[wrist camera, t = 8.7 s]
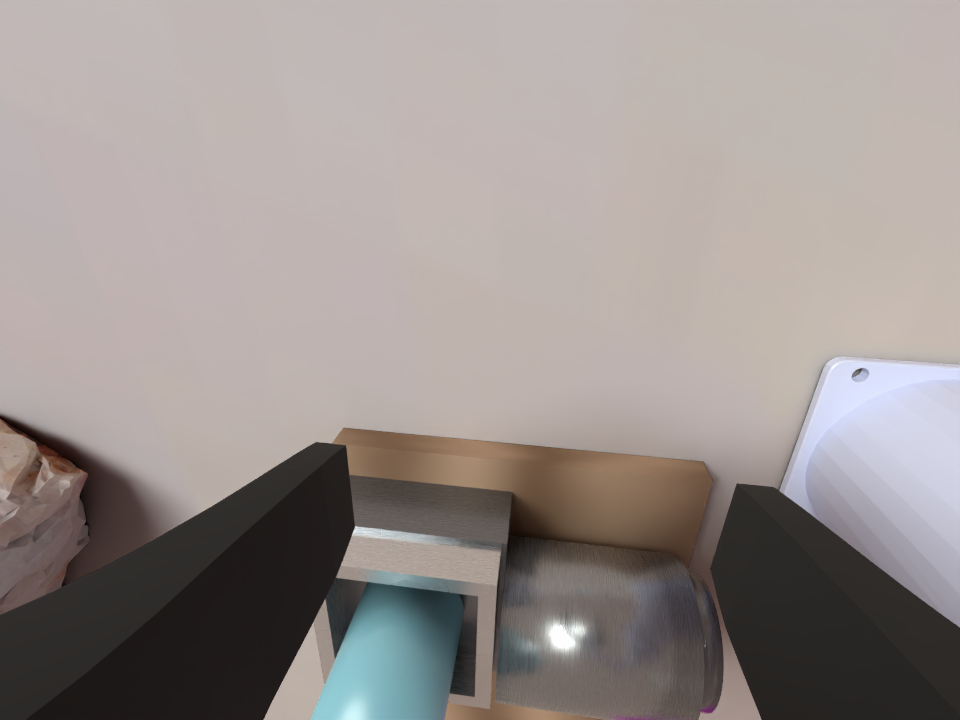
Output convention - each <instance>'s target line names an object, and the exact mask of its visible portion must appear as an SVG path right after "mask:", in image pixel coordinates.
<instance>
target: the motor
mask: <svg viewBox="0 0 960 720" xmlns="http://www.w3.org/2000/svg"><path fill="white" fill-rule="evenodd" d="M349 476H350V485H351V494H352V503H353V512H354V522H355V528H354V531H353V534H352V537H351V539H350V542H349V545H348V548H347V551H346V553H345V556H344V558H343V561H342V564H341V566H340V569H339V571H338V574H337V576H336V578H335V580H334V582H333V584H332V586H331V588H330V590H329V592H328V594H327V596H326V598H325V600H324V602H323V604H322V606H321V608H320V610H319V612H318V614H317V616H316V618H315V620H314V627H315V632H316V638H317V644H318V649H319V655H320V661H321V667H322V672H323V678H324V684H325V683H326V681H327V678H328V676H329V674H330V671H331V669H332V666H333V664H334V661H335V659H336V657H337V654H338V652H339V649H340V647H341V645H342V642H343V640H344V637H345V635H346V632H347V630H348V628H349V625H350V623H351V620H352V618H353V616H354V613H355V611H356V608H357V606H358V603H359V601H360V599H361V596H362V594H363V591H364V589H365V587H366V584H367V582H372V583H380V584H387V585H395V586H403V587H411V588H418V589H426V590H434V591H441V592H449V593H457V594H459V595H460V597H461V599H462V602H463V605H464V616H463V621H462V627H461V632H460V638H459V643H458V649H457V654H456V660H455V665H454V671H453V677H452V682H451V688H450V693H449V699H448V703H452V704H459V705H465V706H472V707H478V708H485V709H490V703H491V693H492V683H493V673H494V671H497V674H496V689H495V703H500V704H506V705H513V706H519V707H526V708H532V709H539V710H545V711H552V712H558V713H565V714H571V715H578V716H584V717H591V718H597V719H604V720H698V718H699V715H700V712H702V713H711V712H713V711H714V710H715V708H716V707H717V705H718V703H719V699H720V696H721V691H722V683H723V647H722V638H721V631H720V625H719V620H718V616H717V611H716V608H715V604H714V601H713V598H712V596H711V593H710V591H709V589H708V587H707V585H706V583H705V582H704V580H703V579H702V578H701V577H700V576H699V575H698V574H695V573H688V571H687V569H686V567H685V565H684V563H683V562H682V560H681V559H680V558H679V557H678V556H676V555H674V554H668V553H660V552H651V551H642V550H634V549H625V548H616V547H608V546H599V545H590V544H582V543H573V542H564V541H556V540H547V539H538V538H530V537H521V536H512V535H509V532H510V517H511V502H512V492H509V491H500V490H490V489H481V488H471V487H462V486H452V485H443V484H433V483H424V482H414V481H405V480H395V479H386V478H376V477H367V476H357V475H349Z"/></svg>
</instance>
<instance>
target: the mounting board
mask: <svg viewBox="0 0 960 720" xmlns="http://www.w3.org/2000/svg"><path fill="white" fill-rule="evenodd" d="M332 444H339V445H346V448H347V457H348V467H349V475H357V476H367V477H376V478H386V479H395V480H405V481H414V482H424V483H433V484H443V485H452V486H462V487H471V488H481V489H490V490H500V491H509V492H512V502H511V517H510V532H509V535H512V536H521V537H530V538H538V539H547V540H556V541H564V542H573V543H582V544H590V545H599V546H608V547H616V548H625V549H634V550H642V551H651V552H660V553H668V554H674V555H676V556H678V557H679V558H680V559H681V560H682V562H683V563H684V565H685V567H686V569H687V570H688V567H689V563H690V560H691V556H692V553H693V549H694V546H695V542H696V539H697V535H698V532H699V528H700V525H701V521H702V518H703V514H704V511H705V507H706V504H707V500H708V497H709V493H710V490H711V486H712V483H713V480H712V478H711V476H710V474H709V472H708V470H707V468H706V466H705V464H704V463H703V462H699V461H688V460H678V459H667V458H656V457H646V456H635V455H625V454H614V453H603V452H593V451H582V450H572V449H561V448H550V447H540V446H529V445H519V444H508V443H497V442H487V441H476V440H466V439H455V438H444V437H434V436H423V435H413V434H402V433H391V432H381V431H370V430H360V429H349V428H343V429H342V431H341V432H340V433H339V435H338V436H337V437H336V439H335V440H334V441H333V443H332ZM496 674H497V671H494V673H493V683H492V693H491V703H490V709H485V708H478V707H472V706H465V705H459V704H452V703H448V704H447V710H446V715H445V720H604V719H597V718H591V717H584V716H578V715H571V714H565V713H558V712H552V711H545V710H539V709H532V708H526V707H519V706H513V705H506V704H500V703H495V689H496Z"/></svg>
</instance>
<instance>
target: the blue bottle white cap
mask: <svg viewBox="0 0 960 720" xmlns="http://www.w3.org/2000/svg"><path fill="white" fill-rule="evenodd" d="M463 616H464V605H463V602H462V599H461V597H460V595H459V594H457V593H449V592H441V591H434V590H426V589H418V588H411V587H403V586H395V585H387V584H380V583H372V582H367V584H366V587H365V589H364V591H363V594H362V596H361V599H360V601H359V603H358V606H357V608H356V611H355V613H354V616H353V618H352V620H351V623H350V625H349V628H348V630H347V632H346V635H345V637H344V640H343V642H342V645H341V647H340V649H339V652H338V654H337V657H336V659H335V661H334V664H333V666H332V669H331V671H330V674H329V676H328V678H327V681H326V683H325V686H324V688H323V690H322V693H321V695H320V698H319V700H318V703H317V705H316V707H315V710H314V712H313V715H312V717H311V719H310V720H445V715H446V710H447V704H448V699H449V693H450V688H451V682H452V677H453V671H454V665H455V660H456V654H457V649H458V643H459V638H460V632H461V627H462V621H463Z"/></svg>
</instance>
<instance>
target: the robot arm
mask: <svg viewBox="0 0 960 720" xmlns="http://www.w3.org/2000/svg"><path fill="white" fill-rule="evenodd" d="M859 368H862V371H861V372H860V374H859V375H857V376H855V377H852V374H853V372H854V371H855V370H857V369H859ZM354 528H355V522H354V512H353V503H352V494H351V485H350V476H349V467H348V457H347V448H346V445H339V444H329V443H319V442H316V443H314V444H312V445H310V446H309V447H307V448H305V449H303V450H302V451H300V452H298V453H297V454H295V455H293V456H292V457H290V458H289V459H287V460H285V461H284V462H282V463H281V464H279V465H278V466H276V467H274V468H273V469H271V470H270V471H268V472H266V473H265V474H263V475H262V476H260V477H259V478H257V479H255V480H254V481H252V482H251V483H249V484H247V485H246V486H244V487H243V488H241V489H239V490H238V491H236V492H234V493H233V494H231V495H230V496H228V497H226V498H225V499H223V500H222V501H220V502H218V503H217V504H215V505H213V506H212V507H210V508H208V509H207V510H205V511H203V512H201V513H200V514H198V515H196V516H194V517H193V518H191V519H189V520H188V521H186V522H184V523H182V524H181V525H179V526H177V527H175V528H174V529H172V530H170V531H168V532H167V533H165V534H163V535H162V536H160V537H158V538H156V539H155V540H153V541H151V542H149V543H148V544H146V545H144V546H142V547H140V548H138V549H136V550H135V551H133V552H131V553H129V554H127V555H125V556H123V557H121V558H119V559H117V560H115V561H114V562H112V563H110V564H108V565H106V566H104V567H102V568H100V569H98V570H96V571H94V572H92V573H90V574H88V575H86V576H83V577H81V578H79V579H77V580H75V581H73V582H71V583H69V584H67V585H65V586H63V587H61V588H59V589H57V590H55V591H53V592H51V593H48V594H46V595H44V596H42V597H40V598H37V599H35V600H33V601H31V602H28V603H26V604H24V605H21V606H19V607H17V608H15V609H12V610H10V611H8V612H6V613H3V614H1V615H0V720H263V719H264V717H265V715H266V713H267V711H268V709H269V707H270V705H271V702H272V700H273V698H274V696H275V695H276V693H277V691H278V689H279V687H280V685H281V683H282V681H283V679H284V677H285V675H286V673H287V672H288V670H289V668H290V666H291V664H292V662H293V660H294V658H295V656H296V654H297V652H298V650H299V648H300V647H301V645H302V643H303V641H304V639H305V637H306V635H307V633H308V631H309V629H310V627H311V625H312V624H313V622H314V620H315V618H316V616H317V614H318V612H319V610H320V608H321V606H322V604H323V602H324V600H325V598H326V596H327V594H328V592H329V590H330V588H331V586H332V584H333V582H334V580H335V578H336V576H337V574H338V571H339V569H340V566H341V564H342V561H343V558H344V556H345V553H346V551H347V548H348V545H349V542H350V539H351V537H352V534H353V531H354ZM710 569H711V573H712V577H713V581H714V585H715V589H716V593H717V597H718V601H719V605H720V608H721V612H722V616H723V619H724V623H725V627H726V629H727V632H728V635H729V637H730V640H731V643H732V645H733V648H734V650H735V653H736V655H737V658H738V661H739V663H740V666H741V668H742V671H743V673H744V676H745V679H746V681H747V684H748V686H749V689H750V691H751V694H752V696H753V699H754V701H755V704H756V706H757V709H758V711H759V714H760V716H761V719H762V720H960V365H959V364H944V363H930V362H915V361H901V360H887V359H872V358H858V357H836V358H834V359H832V360H830V361H829V362H828V363H827V364H826V365H825V367H824V368H823V371H822V374H821V377H820V379H819V382H818V385H817V388H816V390H815V393H814V396H813V399H812V402H811V404H810V407H809V410H808V413H807V415H806V418H805V421H804V424H803V426H802V429H801V432H800V435H799V438H798V440H797V443H796V446H795V449H794V451H793V454H792V457H791V460H790V463H789V465H788V468H787V471H786V474H785V476H784V479H783V482H782V485H781V487H780V490H779V491H778V490H777V489H775V488H774V487H766V486H756V485H746V484H737V485H736V488H735V491H734V494H733V498H732V501H731V504H730V507H729V511H728V514H727V517H726V520H725V523H724V527H723V530H722V533H721V536H720V539H719V543H718V546H717V549H716V552H715V555H714V559H713V562H712V565H711V568H710Z"/></svg>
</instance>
